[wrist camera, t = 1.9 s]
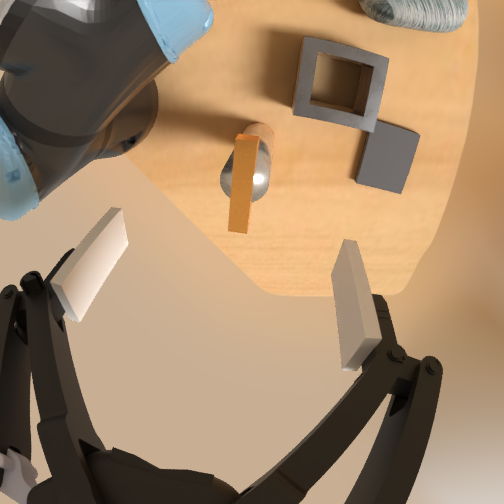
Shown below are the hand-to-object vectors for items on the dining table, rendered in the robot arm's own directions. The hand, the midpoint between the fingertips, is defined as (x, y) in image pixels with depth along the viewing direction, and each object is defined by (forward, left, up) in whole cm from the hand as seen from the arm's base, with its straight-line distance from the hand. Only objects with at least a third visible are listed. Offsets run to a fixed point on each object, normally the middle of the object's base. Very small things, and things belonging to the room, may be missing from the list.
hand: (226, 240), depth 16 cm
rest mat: (+17, +1, -22) cm, 28 cm away
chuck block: (+8, +9, -22) cm, 25 cm away
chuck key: (0, 0, -22) cm, 22 cm away
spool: (+15, +23, -23) cm, 35 cm away
